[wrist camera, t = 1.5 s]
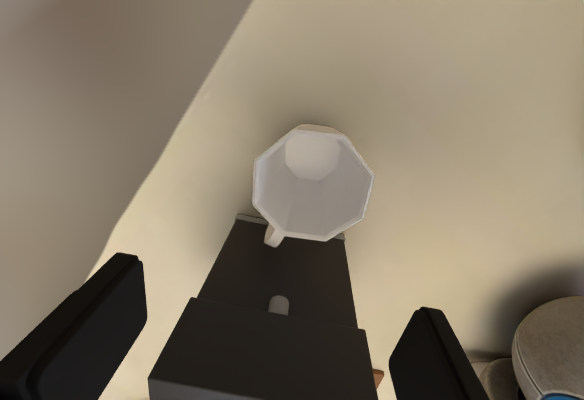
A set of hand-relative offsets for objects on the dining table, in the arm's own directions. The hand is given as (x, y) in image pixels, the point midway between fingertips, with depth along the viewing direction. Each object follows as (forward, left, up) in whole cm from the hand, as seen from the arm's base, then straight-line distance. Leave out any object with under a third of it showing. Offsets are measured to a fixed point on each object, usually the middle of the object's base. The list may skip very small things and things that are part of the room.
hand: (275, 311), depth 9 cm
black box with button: (+9, 0, -15) cm, 18 cm away
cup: (0, 0, -15) cm, 15 cm away
